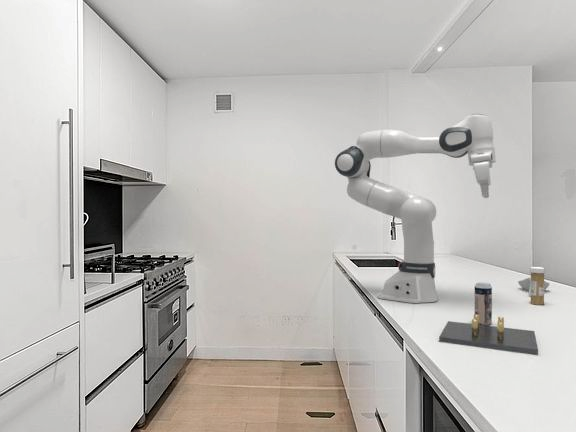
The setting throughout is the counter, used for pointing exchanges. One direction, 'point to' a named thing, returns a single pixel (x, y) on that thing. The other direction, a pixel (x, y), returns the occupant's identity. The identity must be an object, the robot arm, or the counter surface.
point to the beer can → (483, 303)
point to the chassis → (490, 336)
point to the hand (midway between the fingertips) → (485, 197)
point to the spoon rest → (527, 282)
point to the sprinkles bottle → (537, 285)
